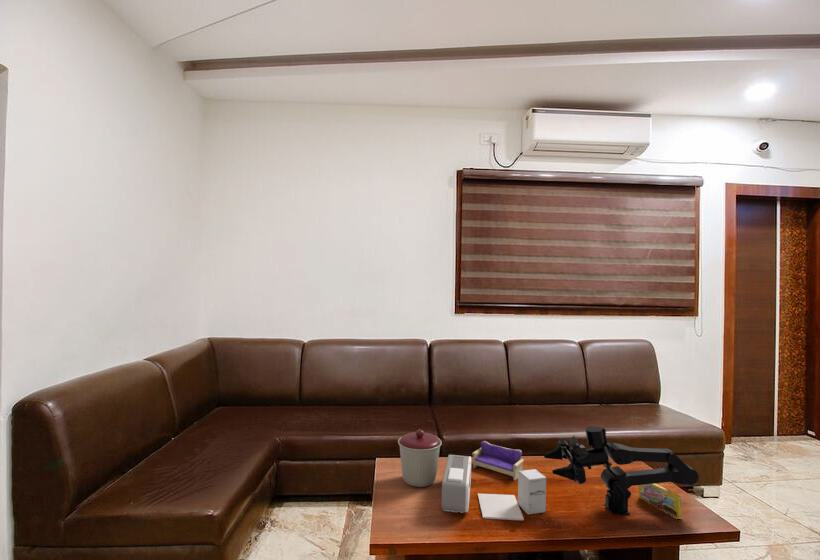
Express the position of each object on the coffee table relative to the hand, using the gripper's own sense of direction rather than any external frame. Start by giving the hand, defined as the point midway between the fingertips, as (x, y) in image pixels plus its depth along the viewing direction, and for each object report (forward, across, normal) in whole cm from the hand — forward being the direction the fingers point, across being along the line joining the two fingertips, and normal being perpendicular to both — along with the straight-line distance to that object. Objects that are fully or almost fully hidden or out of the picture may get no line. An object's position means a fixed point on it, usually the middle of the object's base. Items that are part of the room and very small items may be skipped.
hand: (548, 463), depth 149 cm
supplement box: (+9, +4, +14) cm, 17 cm away
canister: (+50, -14, +10) cm, 53 cm away
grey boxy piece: (+35, -3, +10) cm, 37 cm away
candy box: (-38, +2, +23) cm, 44 cm away
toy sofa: (+16, -25, +19) cm, 35 cm away
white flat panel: (+20, +4, +12) cm, 24 cm away
